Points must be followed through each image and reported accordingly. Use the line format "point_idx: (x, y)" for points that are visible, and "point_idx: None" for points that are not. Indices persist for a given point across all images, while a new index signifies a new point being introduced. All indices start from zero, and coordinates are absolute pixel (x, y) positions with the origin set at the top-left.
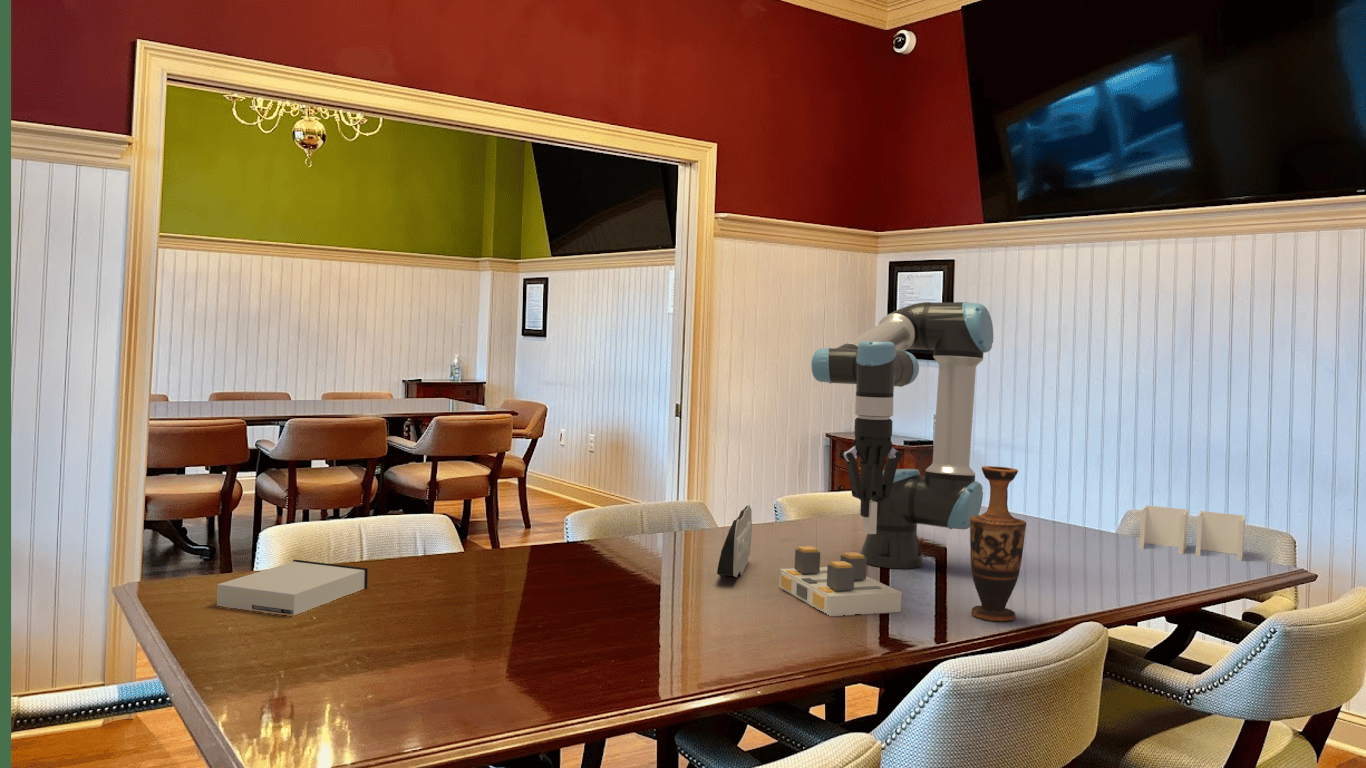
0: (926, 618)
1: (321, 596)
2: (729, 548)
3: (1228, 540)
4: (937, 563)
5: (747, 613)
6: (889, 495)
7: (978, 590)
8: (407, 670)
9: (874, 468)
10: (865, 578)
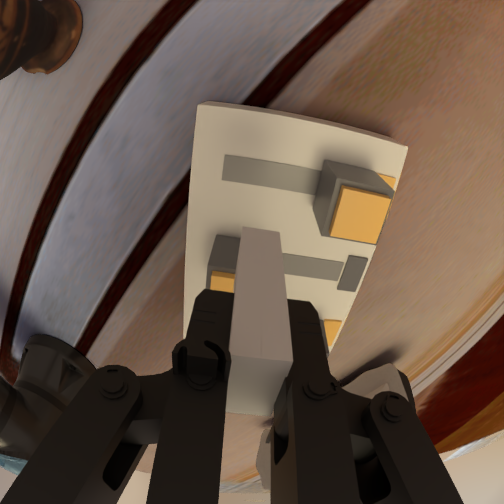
0: (184, 40)
1: None
2: (409, 400)
3: None
4: (11, 336)
5: (484, 223)
6: (93, 377)
7: (43, 28)
8: None
9: None
10: (217, 235)
